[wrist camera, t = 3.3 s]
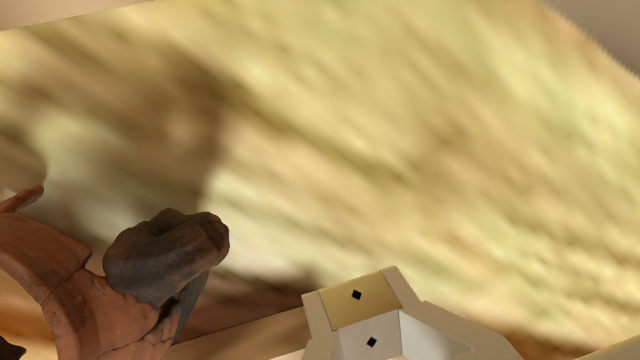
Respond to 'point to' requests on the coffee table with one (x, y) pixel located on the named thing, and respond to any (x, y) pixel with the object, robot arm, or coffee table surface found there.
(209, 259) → the broken brown clay pot
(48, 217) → the coffee table surface
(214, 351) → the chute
